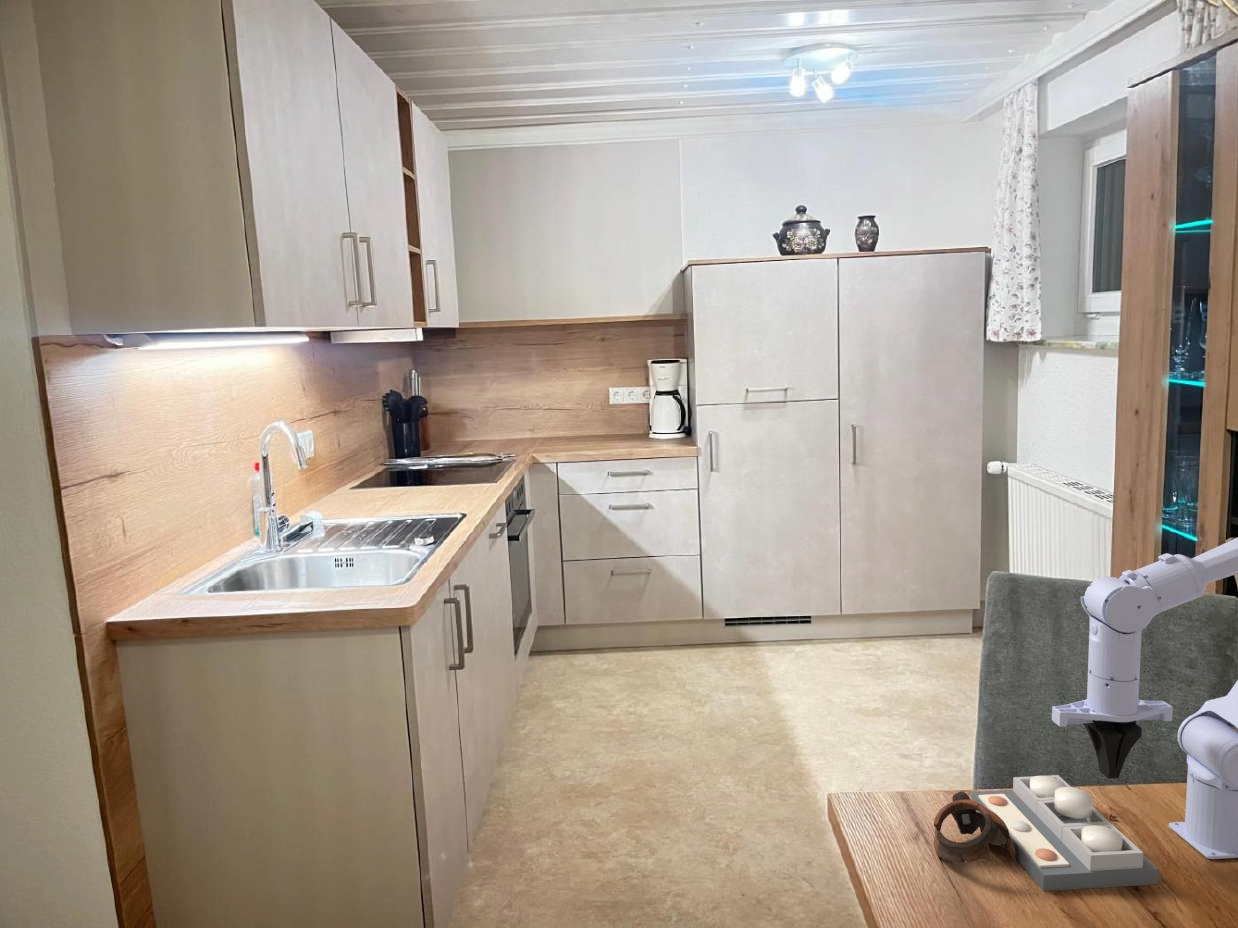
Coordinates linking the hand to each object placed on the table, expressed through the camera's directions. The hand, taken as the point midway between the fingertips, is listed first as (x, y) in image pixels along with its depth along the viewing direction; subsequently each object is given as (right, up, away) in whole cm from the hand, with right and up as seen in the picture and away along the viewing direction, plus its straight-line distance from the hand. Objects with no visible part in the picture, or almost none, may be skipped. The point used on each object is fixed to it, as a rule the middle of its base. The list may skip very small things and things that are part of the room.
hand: (1109, 774), depth 115 cm
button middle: (-4, -5, +2) cm, 7 cm away
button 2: (-4, -8, -5) cm, 10 cm away
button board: (-6, -9, +2) cm, 11 cm away
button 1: (-4, -6, +8) cm, 11 cm away
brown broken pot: (-17, -10, 0) cm, 20 cm away
